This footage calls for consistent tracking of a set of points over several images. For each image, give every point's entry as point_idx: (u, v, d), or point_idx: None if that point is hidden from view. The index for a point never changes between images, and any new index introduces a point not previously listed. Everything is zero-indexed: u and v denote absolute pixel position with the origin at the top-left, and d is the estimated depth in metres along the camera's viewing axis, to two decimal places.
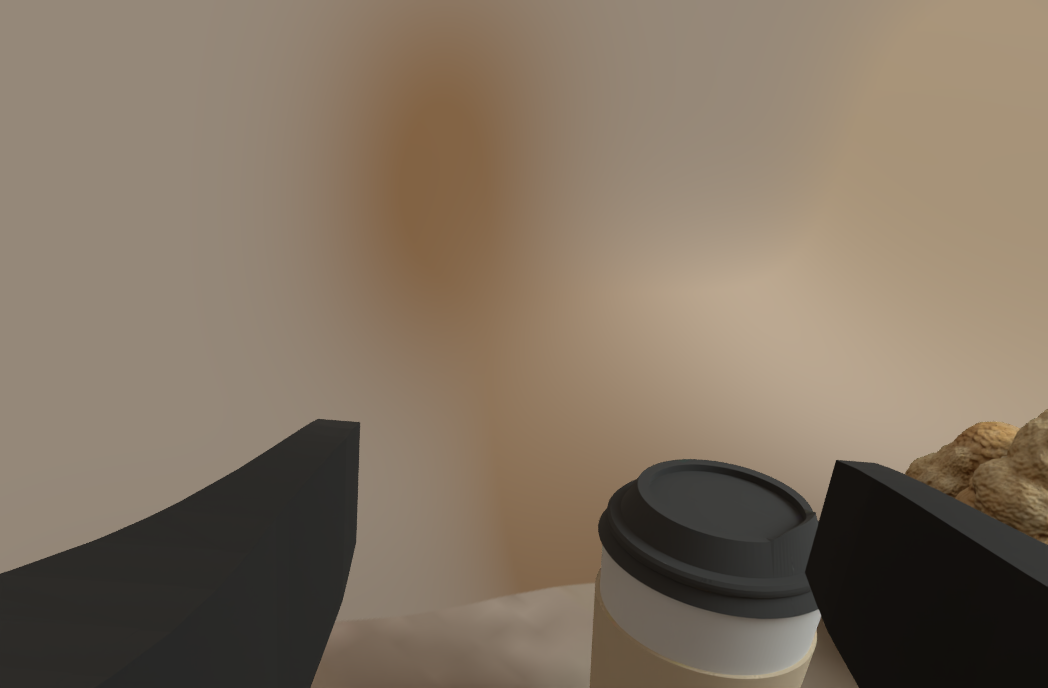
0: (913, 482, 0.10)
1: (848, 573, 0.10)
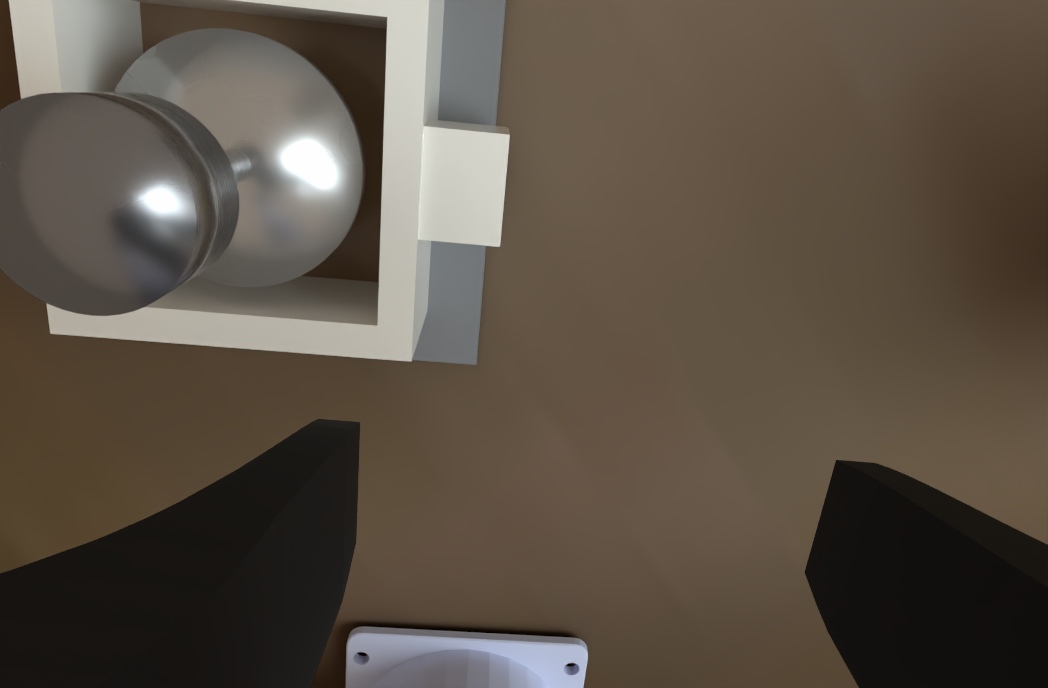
0: (913, 482, 0.10)
1: (848, 573, 0.10)
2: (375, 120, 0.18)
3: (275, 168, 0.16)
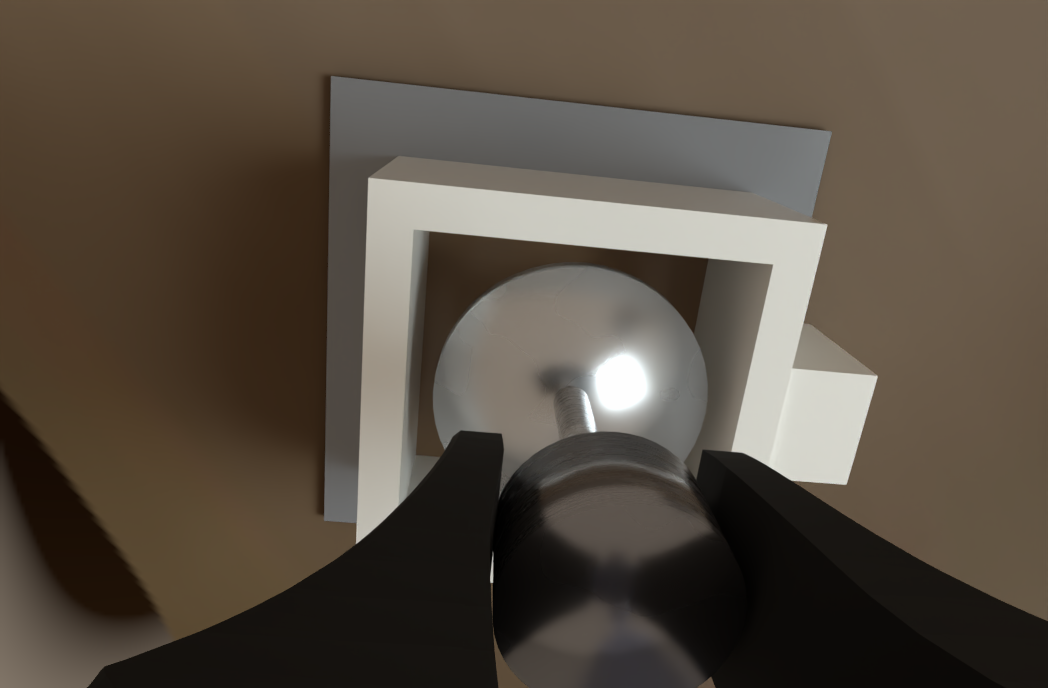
0: (766, 471, 0.10)
1: None
2: None
3: (614, 405, 0.14)
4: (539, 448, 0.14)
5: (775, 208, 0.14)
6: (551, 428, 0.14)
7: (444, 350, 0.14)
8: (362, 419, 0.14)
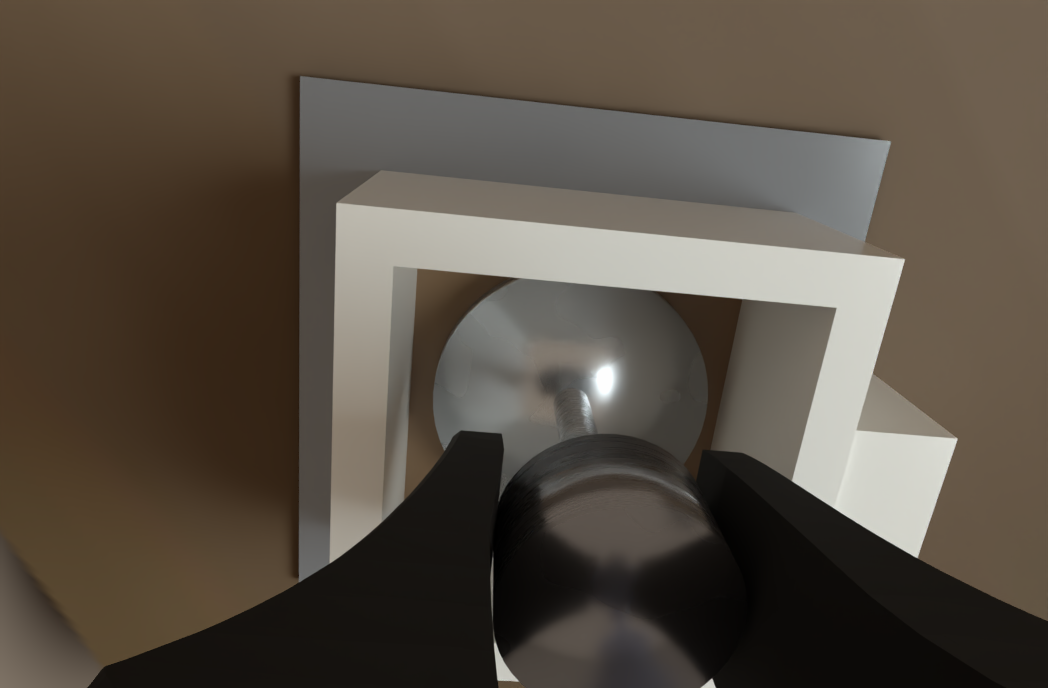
0: (767, 471, 0.10)
1: None
2: None
3: (614, 407, 0.14)
4: (539, 450, 0.14)
5: (833, 235, 0.12)
6: (551, 430, 0.14)
7: (444, 352, 0.14)
8: (333, 493, 0.11)
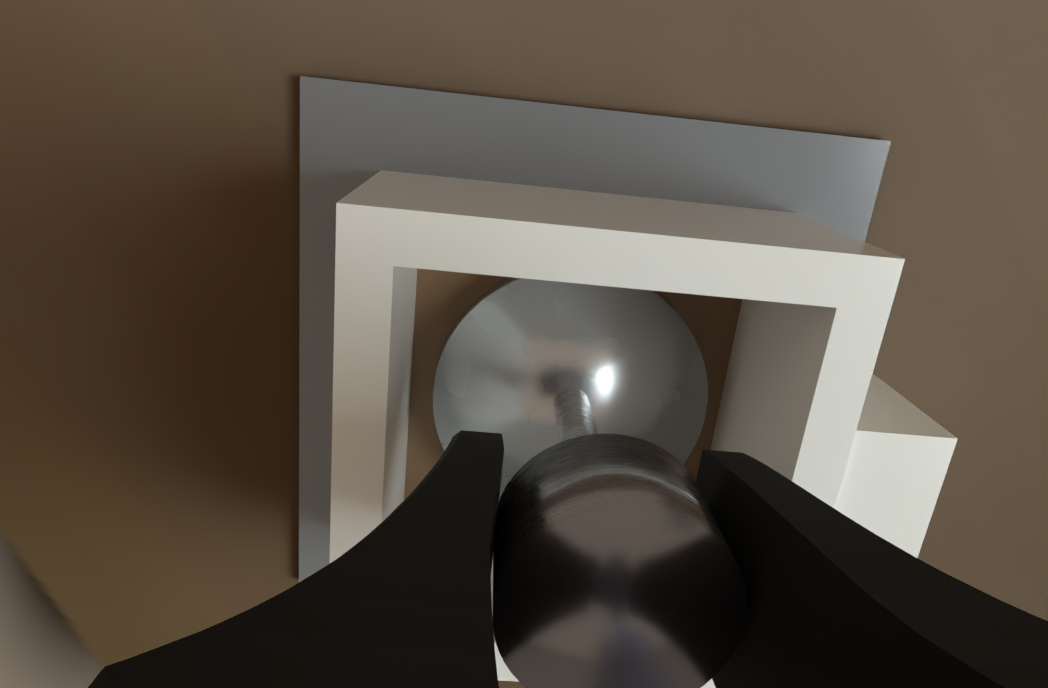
0: (766, 471, 0.10)
1: None
2: None
3: (614, 407, 0.14)
4: (539, 450, 0.14)
5: (833, 235, 0.12)
6: (551, 430, 0.14)
7: (444, 352, 0.14)
8: (333, 493, 0.11)
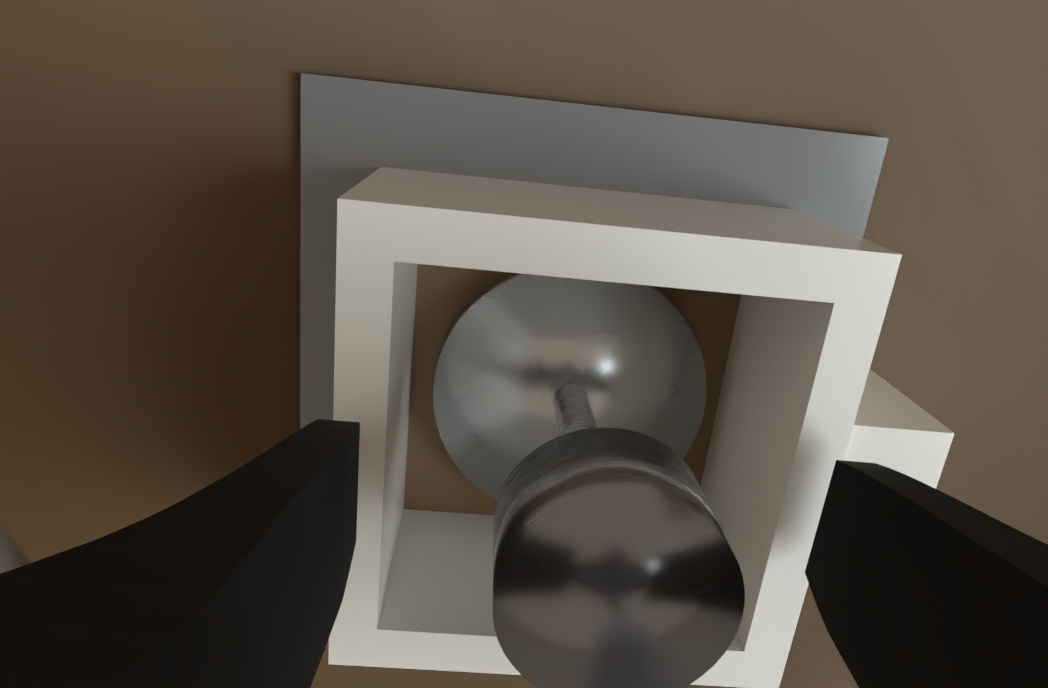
0: (913, 482, 0.10)
1: (848, 573, 0.10)
2: None
3: (613, 402, 0.14)
4: (539, 445, 0.15)
5: (830, 231, 0.12)
6: (551, 425, 0.14)
7: (444, 347, 0.14)
8: None
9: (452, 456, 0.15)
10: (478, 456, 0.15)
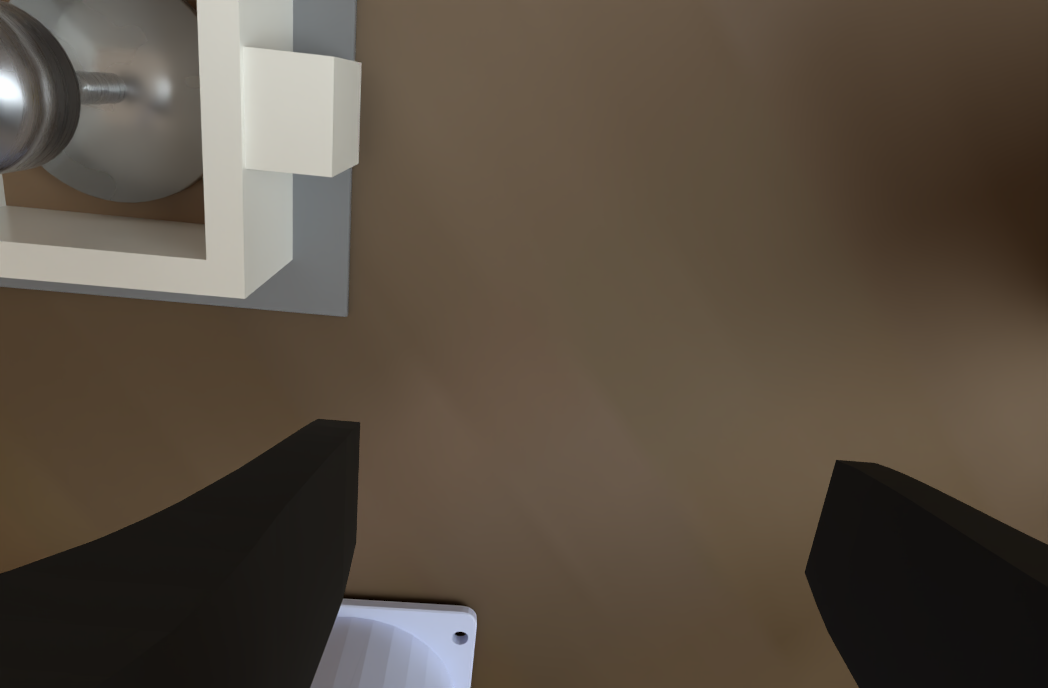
0: (913, 482, 0.10)
1: (848, 573, 0.10)
2: None
3: (148, 91, 0.17)
4: (92, 131, 0.18)
5: None
6: (100, 113, 0.17)
7: None
8: None
9: None
10: None
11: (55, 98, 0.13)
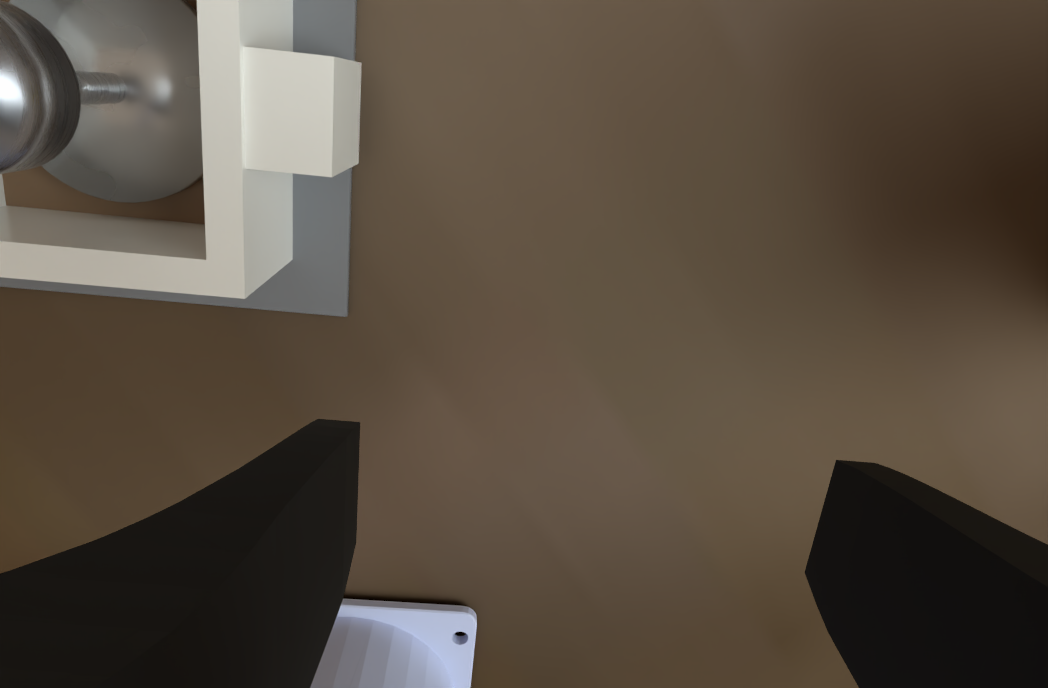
0: (913, 482, 0.10)
1: (848, 573, 0.10)
2: None
3: (148, 91, 0.17)
4: (92, 131, 0.18)
5: None
6: (100, 113, 0.17)
7: None
8: None
9: None
10: None
11: (55, 98, 0.13)
